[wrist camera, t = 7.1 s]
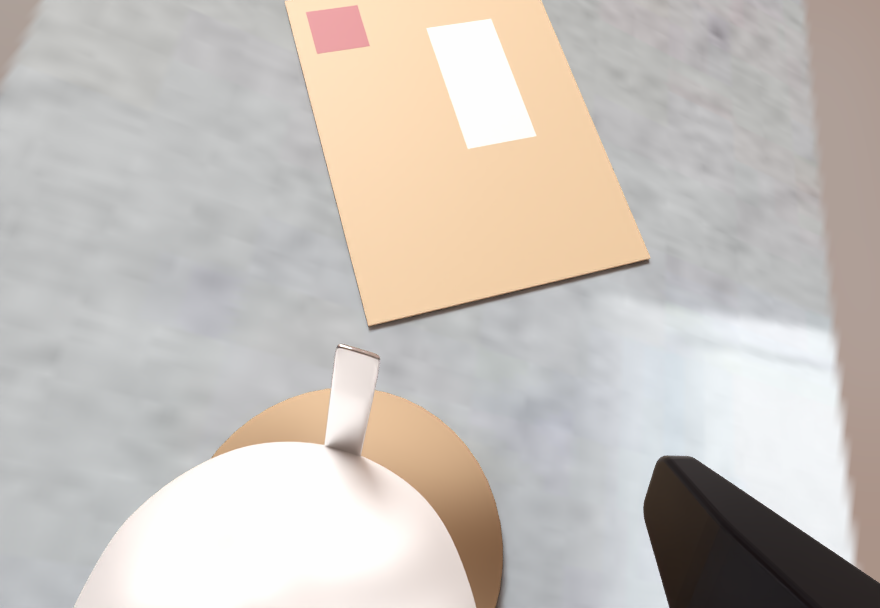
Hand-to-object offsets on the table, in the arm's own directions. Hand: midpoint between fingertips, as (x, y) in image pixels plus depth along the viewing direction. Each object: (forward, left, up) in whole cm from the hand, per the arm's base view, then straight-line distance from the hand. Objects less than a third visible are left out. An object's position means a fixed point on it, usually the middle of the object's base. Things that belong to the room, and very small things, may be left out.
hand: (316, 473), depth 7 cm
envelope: (+10, -6, -8) cm, 14 cm away
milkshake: (-1, +1, -8) cm, 8 cm away
